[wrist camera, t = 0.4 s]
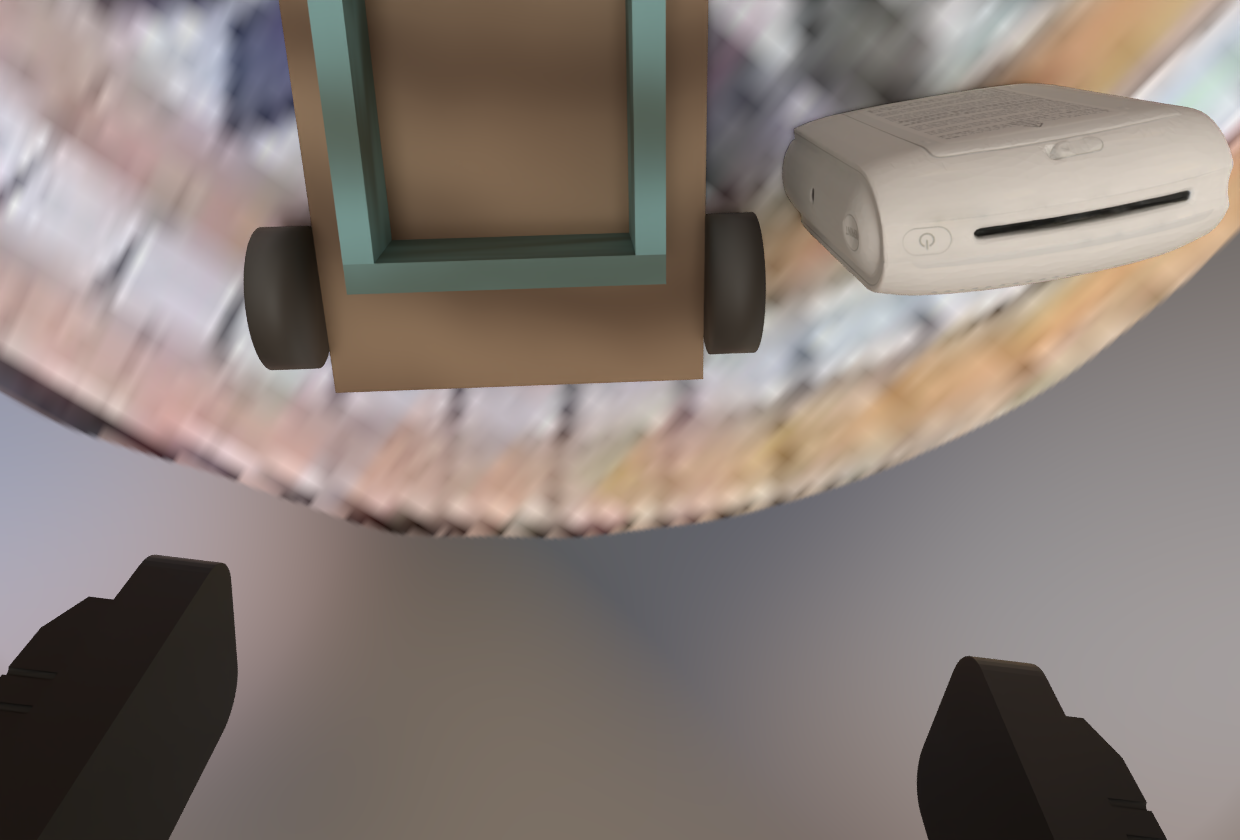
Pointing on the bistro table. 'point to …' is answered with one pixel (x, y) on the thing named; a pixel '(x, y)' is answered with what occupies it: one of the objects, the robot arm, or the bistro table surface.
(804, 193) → the photo printer
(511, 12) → the chassis
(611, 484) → the bistro table surface
